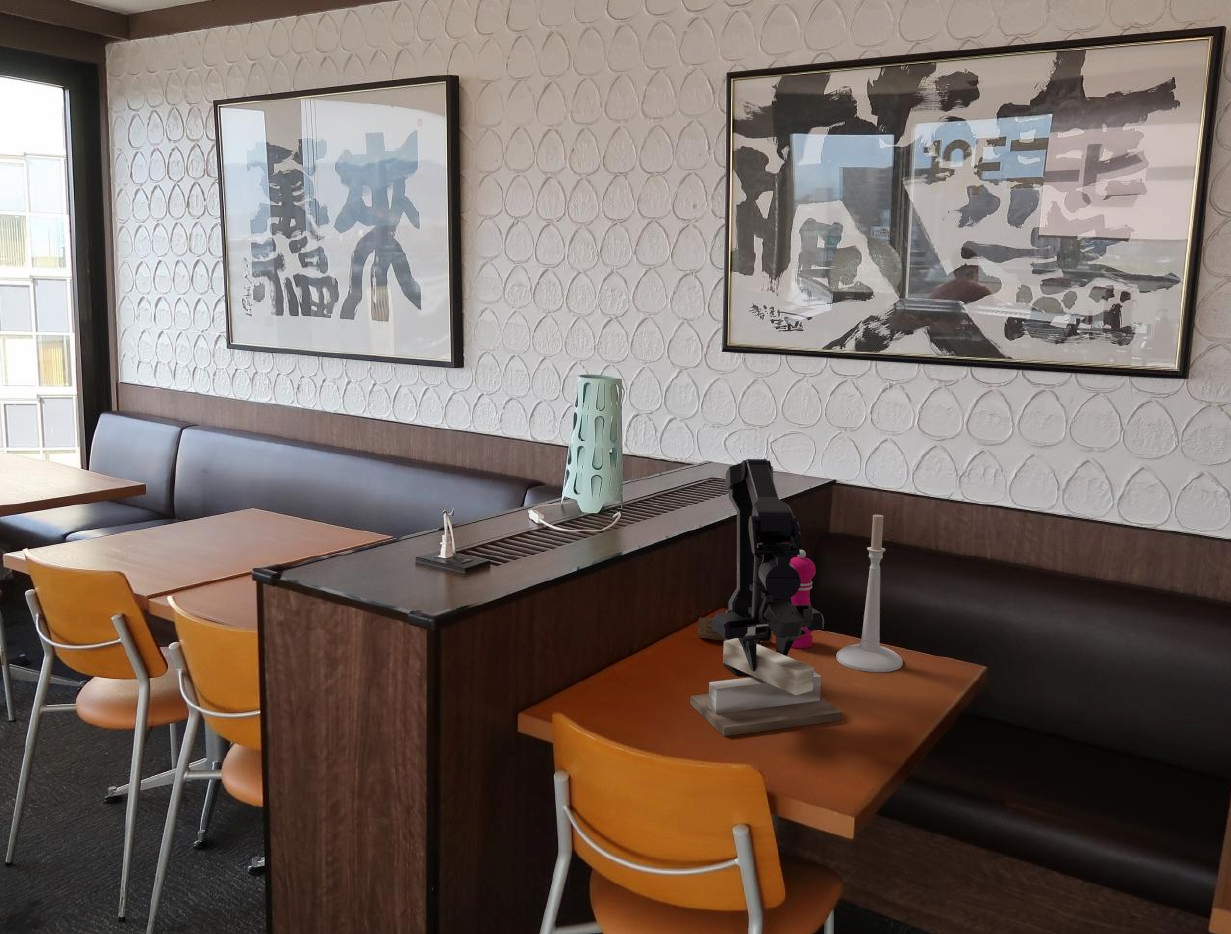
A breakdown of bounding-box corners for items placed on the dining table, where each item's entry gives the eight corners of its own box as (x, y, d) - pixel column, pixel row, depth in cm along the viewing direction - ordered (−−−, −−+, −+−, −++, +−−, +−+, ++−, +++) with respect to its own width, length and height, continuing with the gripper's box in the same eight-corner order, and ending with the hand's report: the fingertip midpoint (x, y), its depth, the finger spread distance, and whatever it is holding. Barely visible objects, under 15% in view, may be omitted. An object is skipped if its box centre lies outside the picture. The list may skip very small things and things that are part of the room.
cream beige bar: (722, 662, 186) (723, 641, 185) (739, 658, 188) (740, 637, 187) (795, 695, 171) (796, 672, 171) (812, 690, 174) (814, 667, 173)
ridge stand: (690, 704, 184) (691, 671, 183) (800, 690, 191) (802, 659, 190) (723, 736, 171) (725, 701, 170) (841, 720, 178) (842, 687, 177)
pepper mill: (793, 635, 221) (797, 543, 218) (821, 644, 216) (826, 550, 213) (772, 642, 216) (776, 549, 213) (801, 652, 211) (805, 556, 208)
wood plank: (771, 640, 218) (772, 617, 217) (772, 643, 216) (773, 620, 215) (697, 637, 219) (698, 614, 218) (697, 641, 217) (698, 618, 216)
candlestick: (862, 675, 199) (871, 522, 194) (823, 654, 210) (831, 508, 205) (916, 667, 204) (926, 517, 199) (875, 646, 216) (884, 504, 210)
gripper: (741, 600, 166) (737, 692, 169) (843, 590, 173) (838, 680, 175) (712, 581, 177) (709, 668, 179) (809, 573, 183) (805, 657, 186)
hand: (766, 669), depth 180 cm, fingers closed on cream beige bar, 5 cm apart
